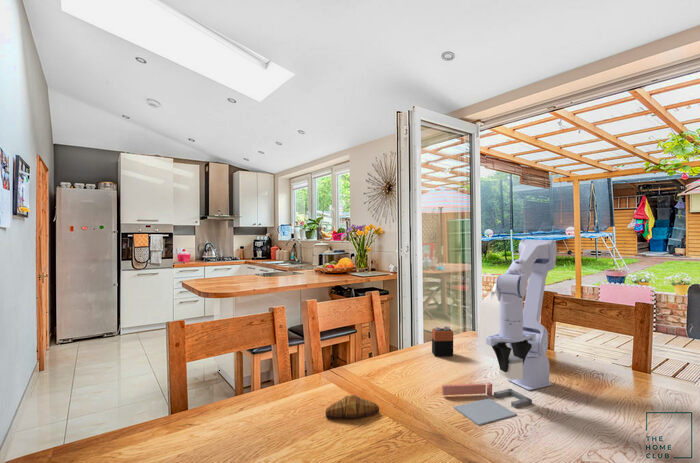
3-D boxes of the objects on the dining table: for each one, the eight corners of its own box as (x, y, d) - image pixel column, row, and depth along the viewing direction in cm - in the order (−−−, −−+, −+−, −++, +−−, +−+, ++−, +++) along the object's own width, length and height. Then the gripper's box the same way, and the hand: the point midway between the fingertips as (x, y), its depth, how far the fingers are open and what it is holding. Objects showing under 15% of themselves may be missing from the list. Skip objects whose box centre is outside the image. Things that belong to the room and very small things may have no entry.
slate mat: (489, 399, 98) (489, 398, 98) (516, 415, 89) (516, 414, 89) (453, 407, 93) (453, 406, 93) (478, 425, 85) (478, 424, 85)
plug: (510, 372, 100) (511, 354, 100) (522, 378, 96) (522, 359, 96) (499, 374, 98) (499, 356, 98) (510, 380, 95) (511, 361, 95)
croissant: (375, 406, 94) (375, 387, 94) (382, 420, 88) (382, 399, 88) (323, 410, 92) (323, 391, 92) (326, 425, 85) (326, 403, 85)
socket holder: (510, 392, 102) (510, 388, 102) (531, 403, 96) (531, 399, 95) (493, 395, 100) (493, 392, 100) (514, 407, 93) (514, 404, 93)
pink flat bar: (493, 395, 100) (493, 384, 100) (443, 397, 99) (443, 386, 99) (490, 393, 101) (490, 382, 101) (441, 395, 100) (441, 384, 100)
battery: (453, 356, 131) (453, 328, 130) (435, 357, 130) (435, 329, 130) (449, 352, 135) (449, 325, 135) (431, 352, 134) (431, 325, 134)
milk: (502, 362, 125) (503, 286, 125) (476, 352, 135) (477, 282, 135) (525, 356, 131) (526, 284, 130) (499, 347, 141) (499, 280, 141)
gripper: (521, 313, 103) (521, 361, 103) (478, 317, 99) (478, 367, 99) (541, 319, 97) (541, 370, 97) (496, 324, 92) (496, 377, 92)
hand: (510, 369), depth 97 cm, fingers closed on plug, 4 cm apart
